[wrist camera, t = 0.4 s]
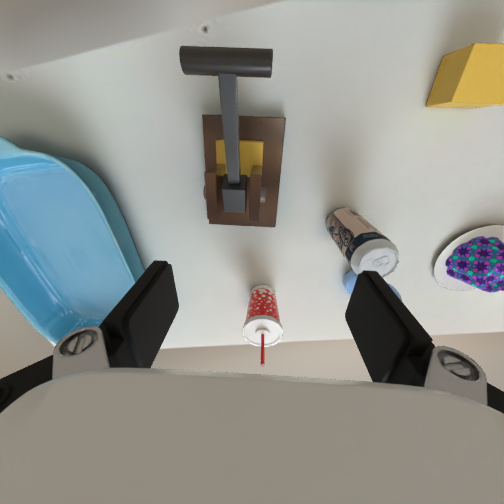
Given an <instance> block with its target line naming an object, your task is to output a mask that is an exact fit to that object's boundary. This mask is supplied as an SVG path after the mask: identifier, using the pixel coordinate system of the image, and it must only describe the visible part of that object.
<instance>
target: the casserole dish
mask: <svg viewBox="0 0 504 504" xmlns="http://www.w3.org/2000/svg"><path fill="white" fill-rule="evenodd" d="M144 272H145V271H144V268H143V266H142V263H141V261H140V258H139V256H138V253H137V251H136V248H135V245H134V243H133V240H132V238H131V235H130V233H129V230H128V228H127V225H126V223H125V221H124V218H123V216H122V214H121V212H120V210H119V208H118V205H117V204H116V202H115V200H114V198H113V196H112V195H111V193H110V191H109V190H108V188H107V187H106V185H105V184H104V182H103V181H102V180H101V179H100V178H99V177H98V176H97V175H96V174H95V173H94V172H93V171H91V170H90V169H89V168H87V167H86V166H84V165H83V164H81V163H79V162H76V161H74V160H71V159H68V158H65V157H60V156H56V155H52V154H48V153H43V152H39V151H33V150H26V149H22V148H20V147H19V146H18V145H16V144H14V143H13V142H11V141H10V140H8V139H6V138H4V137H2V136H0V288H1V289H2V291H3V292H4V293H5V294H6V295H7V297H8V298H9V299H10V300H11V301H12V303H13V304H14V305H15V306H16V308H17V309H18V310H19V311H20V312H21V313H22V315H23V316H24V317H25V318H26V319H27V320H28V321H29V322H30V324H31V325H32V326H33V327H34V328H35V329H36V330H38V331H39V332H40V333H41V334H42V335H43V336H44V337H46V338H47V339H49V340H50V341H52V342H54V343H56V344H57V343H58V342H59V341H60V340H61V339H62V338H63V337H64V336H66V335H67V334H69V333H70V332H72V331H74V330H77V329H79V328H82V327H87V326H95V327H99V325H100V324H101V323H102V322H103V320H104V319H105V318H106V317H107V315H108V314H109V313H110V312H111V311H112V309H113V308H114V307H115V306H116V305H117V304H118V302H119V301H120V300H121V299H122V298H123V297H124V295H125V294H126V293H127V292H128V291H129V290H130V288H131V287H132V286H133V285H134V284H135V282H136V281H137V280H138V279H139V278H140V277H141V275H142V274H143V273H144Z"/></svg>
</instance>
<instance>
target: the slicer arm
mask: <svg viewBox="0 0 504 504" xmlns="http://www.w3.org/2000/svg"><path fill="white" fill-rule="evenodd" d="M179 55H180V64H181V68H182V71H183V73H184V74H185V75H210V76H218V77H219V88H220V99H221V110H222V121H223V132H224V143H225V155H226V166H227V174H225V175H224V180H223V184H222V189H221V191H222V199H223V207H224V211H225V212H243V213H245V212H246V204H247V175H241V169H240V139H239V109H238V79H237V77H265V78H270V77H271V74H272V60H273V49H258V48H228V47H197V46H181V47H180V52H179Z"/></svg>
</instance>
